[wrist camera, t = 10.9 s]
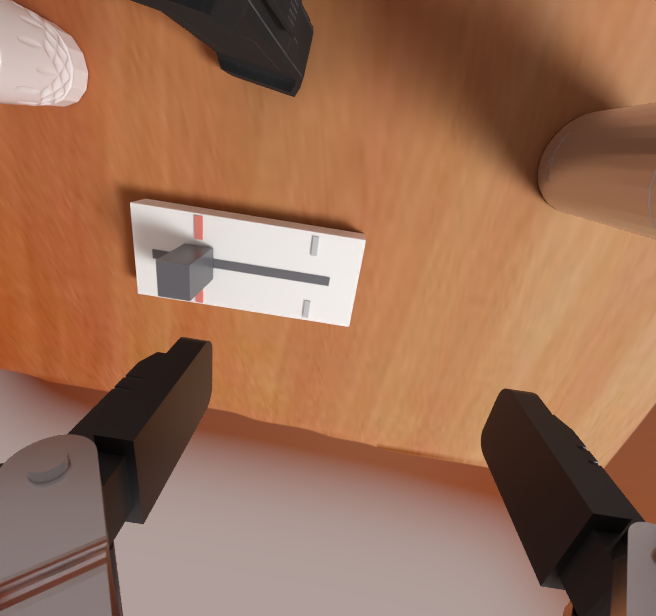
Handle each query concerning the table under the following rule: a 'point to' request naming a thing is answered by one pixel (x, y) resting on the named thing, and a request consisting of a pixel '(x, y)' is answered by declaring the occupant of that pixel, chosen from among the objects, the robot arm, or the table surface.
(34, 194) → the table surface
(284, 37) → the portable radio
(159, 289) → the fader tab
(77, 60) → the white cup
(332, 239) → the panel
